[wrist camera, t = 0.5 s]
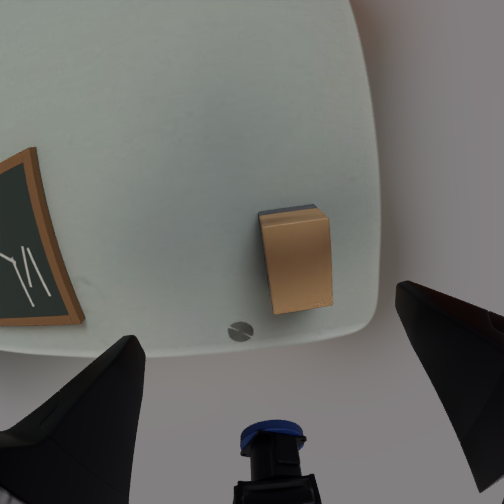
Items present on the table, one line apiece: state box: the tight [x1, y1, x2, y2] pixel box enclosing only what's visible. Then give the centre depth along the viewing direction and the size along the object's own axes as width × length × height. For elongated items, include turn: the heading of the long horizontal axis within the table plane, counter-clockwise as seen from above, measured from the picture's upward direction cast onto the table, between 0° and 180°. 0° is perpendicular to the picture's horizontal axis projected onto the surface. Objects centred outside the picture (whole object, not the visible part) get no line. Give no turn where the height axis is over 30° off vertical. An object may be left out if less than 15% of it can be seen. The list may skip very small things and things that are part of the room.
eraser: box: [258, 204, 333, 315], centre depth 20 cm, size 6×4×4 cm, turn 8°
